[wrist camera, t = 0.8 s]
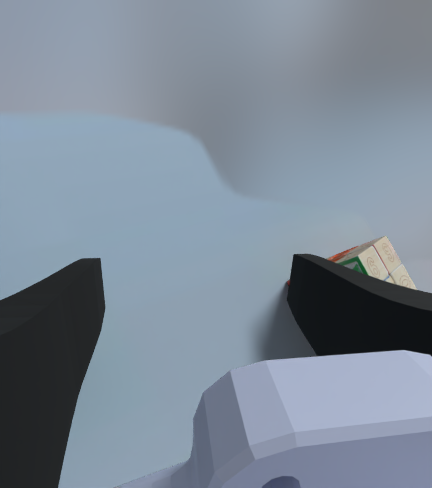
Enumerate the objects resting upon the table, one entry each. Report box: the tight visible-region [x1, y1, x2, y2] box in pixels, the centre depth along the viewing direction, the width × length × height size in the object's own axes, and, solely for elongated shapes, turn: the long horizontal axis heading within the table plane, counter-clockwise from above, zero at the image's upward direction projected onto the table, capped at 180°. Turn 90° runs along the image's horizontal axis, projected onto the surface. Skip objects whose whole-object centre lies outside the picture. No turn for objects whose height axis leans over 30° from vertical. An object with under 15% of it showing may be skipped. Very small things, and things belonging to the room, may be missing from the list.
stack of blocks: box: [287, 236, 417, 290], centre depth 30 cm, size 21×6×12 cm, turn 31°
